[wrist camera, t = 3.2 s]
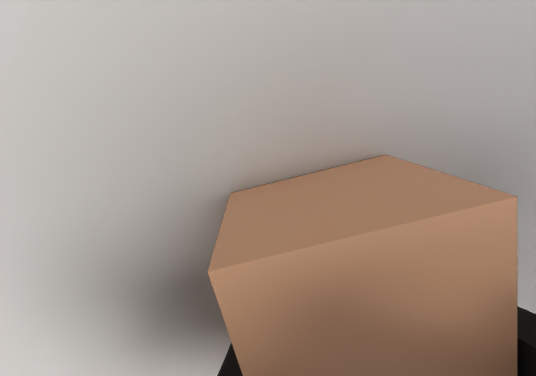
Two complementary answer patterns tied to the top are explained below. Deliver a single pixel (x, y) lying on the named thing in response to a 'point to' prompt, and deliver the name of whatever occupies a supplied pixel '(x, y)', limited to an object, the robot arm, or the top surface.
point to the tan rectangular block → (369, 274)
